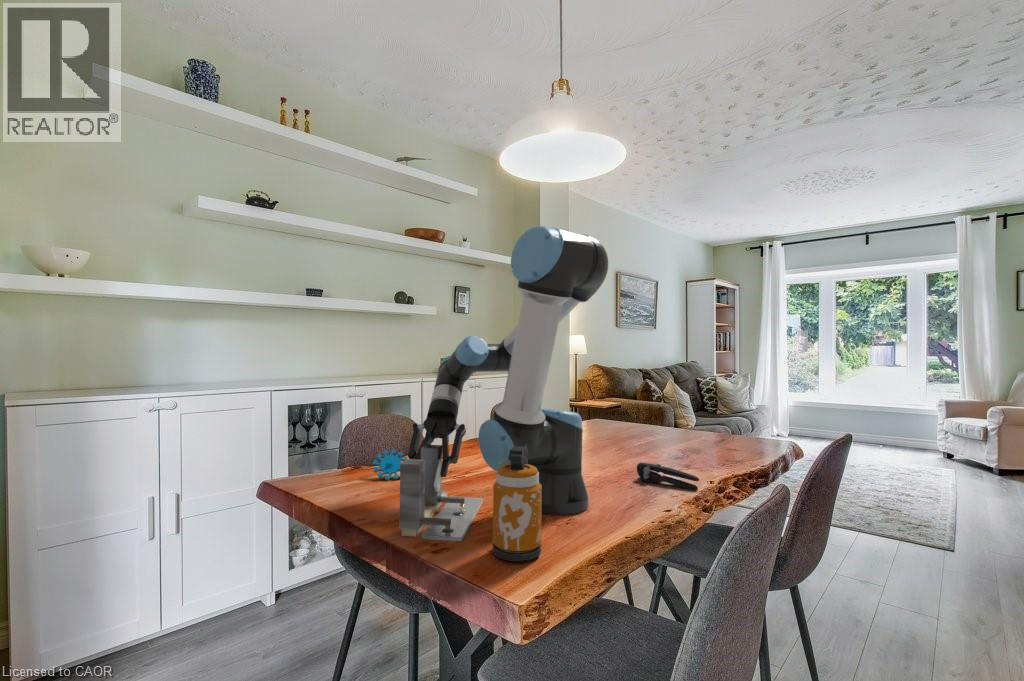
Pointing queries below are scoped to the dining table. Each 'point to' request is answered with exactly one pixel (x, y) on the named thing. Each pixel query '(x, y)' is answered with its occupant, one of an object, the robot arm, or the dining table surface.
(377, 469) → the blue spiky virus model
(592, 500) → the dining table surface
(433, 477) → the slide leg
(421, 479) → the grey metal fixture
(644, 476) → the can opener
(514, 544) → the canister
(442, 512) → the bolt plate
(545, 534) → the dining table surface
